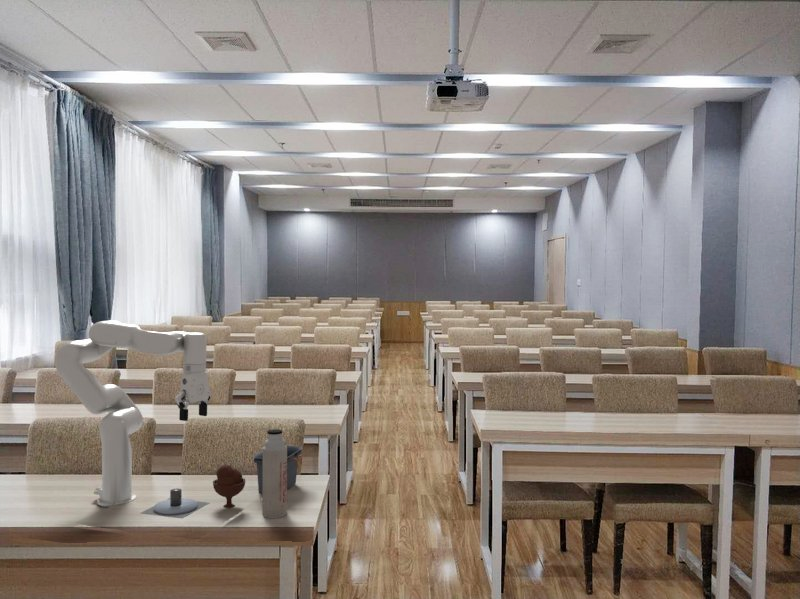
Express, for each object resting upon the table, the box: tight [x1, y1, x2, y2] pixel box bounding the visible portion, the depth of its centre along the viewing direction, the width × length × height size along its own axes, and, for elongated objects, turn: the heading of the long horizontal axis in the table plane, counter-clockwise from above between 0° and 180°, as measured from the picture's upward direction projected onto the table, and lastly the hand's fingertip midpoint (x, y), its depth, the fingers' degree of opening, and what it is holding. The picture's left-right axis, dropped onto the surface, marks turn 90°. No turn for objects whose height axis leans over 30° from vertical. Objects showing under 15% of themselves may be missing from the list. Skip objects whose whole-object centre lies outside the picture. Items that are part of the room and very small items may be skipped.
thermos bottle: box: [261, 428, 288, 519], centre depth 223 cm, size 8×8×28 cm
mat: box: [140, 497, 210, 519], centre depth 225 cm, size 16×16×1 cm
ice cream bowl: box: [212, 464, 246, 509], centre depth 227 cm, size 11×11×15 cm
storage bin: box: [252, 444, 303, 495], centre depth 249 cm, size 21×16×14 cm
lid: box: [153, 487, 198, 515], centre depth 225 cm, size 14×14×6 cm
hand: (193, 418), depth 231 cm, fingers open, 9 cm apart
